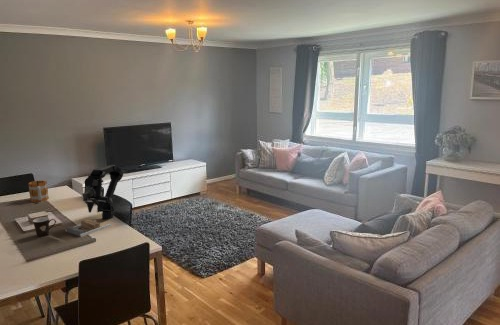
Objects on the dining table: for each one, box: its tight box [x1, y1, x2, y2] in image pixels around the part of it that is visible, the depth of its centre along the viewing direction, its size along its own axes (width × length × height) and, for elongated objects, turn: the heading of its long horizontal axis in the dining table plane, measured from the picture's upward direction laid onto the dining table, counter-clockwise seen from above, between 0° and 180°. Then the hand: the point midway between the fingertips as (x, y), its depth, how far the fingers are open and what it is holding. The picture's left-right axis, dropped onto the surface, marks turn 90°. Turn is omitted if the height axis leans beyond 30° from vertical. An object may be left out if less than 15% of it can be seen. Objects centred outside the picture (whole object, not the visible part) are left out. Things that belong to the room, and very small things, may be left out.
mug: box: [27, 179, 50, 203], centre depth 303 cm, size 20×14×15 cm
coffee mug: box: [32, 216, 57, 238], centre depth 230 cm, size 12×9×10 cm
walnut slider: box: [80, 219, 101, 231], centre depth 237 cm, size 4×14×4 cm, turn 57°
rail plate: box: [65, 219, 112, 238], centre depth 236 cm, size 21×18×4 cm
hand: (94, 212), depth 238 cm, fingers open, 9 cm apart
